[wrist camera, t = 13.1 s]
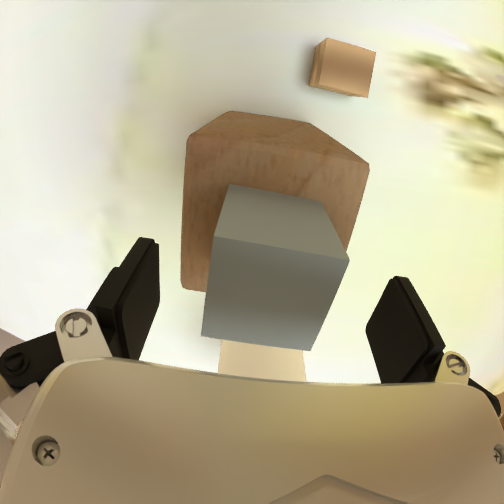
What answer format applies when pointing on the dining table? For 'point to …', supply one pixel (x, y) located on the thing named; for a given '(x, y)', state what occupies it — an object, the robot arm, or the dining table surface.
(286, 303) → the slate block
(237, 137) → the wooden block
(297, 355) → the tall pillar cylinder
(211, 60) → the dining table surface
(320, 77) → the oak block
